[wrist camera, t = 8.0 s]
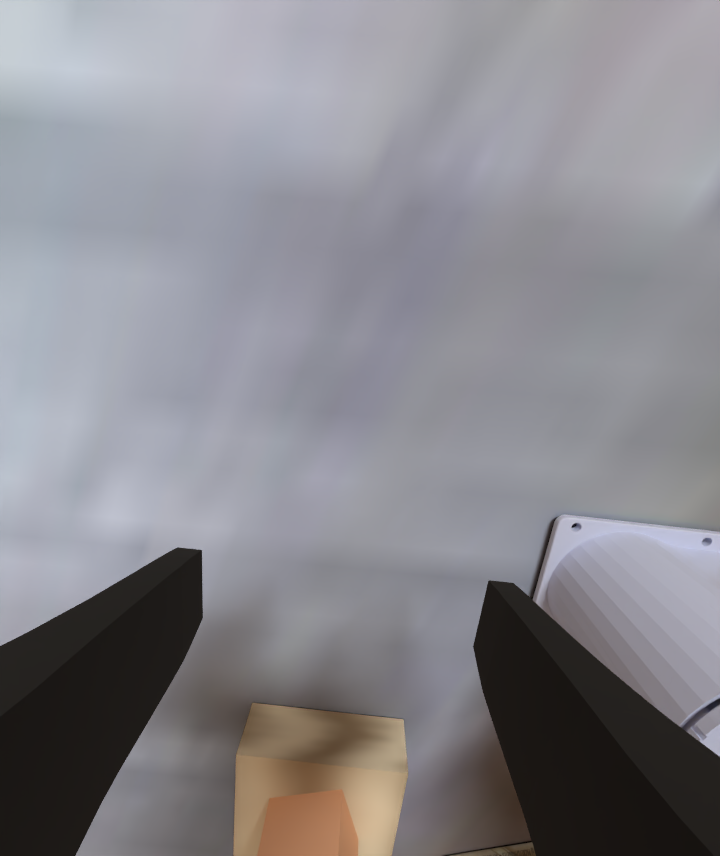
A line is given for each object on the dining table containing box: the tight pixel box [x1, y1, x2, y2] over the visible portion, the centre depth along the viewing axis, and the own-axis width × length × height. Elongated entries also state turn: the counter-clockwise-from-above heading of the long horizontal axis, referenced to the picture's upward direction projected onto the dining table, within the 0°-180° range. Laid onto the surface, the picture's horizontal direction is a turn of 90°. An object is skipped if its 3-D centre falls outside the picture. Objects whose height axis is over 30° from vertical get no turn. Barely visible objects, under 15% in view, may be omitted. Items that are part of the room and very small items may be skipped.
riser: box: [233, 703, 408, 856], centre depth 24 cm, size 10×10×3 cm
